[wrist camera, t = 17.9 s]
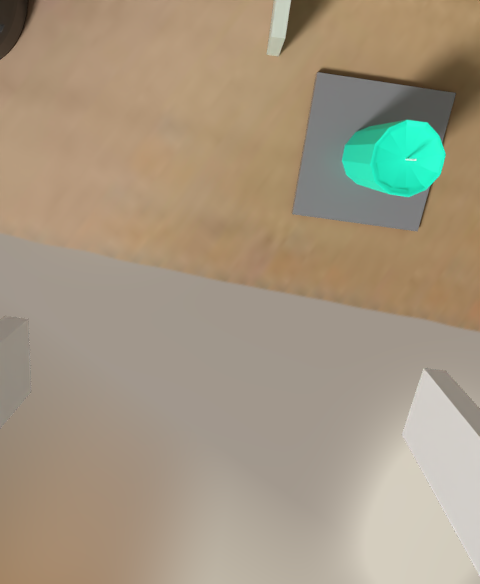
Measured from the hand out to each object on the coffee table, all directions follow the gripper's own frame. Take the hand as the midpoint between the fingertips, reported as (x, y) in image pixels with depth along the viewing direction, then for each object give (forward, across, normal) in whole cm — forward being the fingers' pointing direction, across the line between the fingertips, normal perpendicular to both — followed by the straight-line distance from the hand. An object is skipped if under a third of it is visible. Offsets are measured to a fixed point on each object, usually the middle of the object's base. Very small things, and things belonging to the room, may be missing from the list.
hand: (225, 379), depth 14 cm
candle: (+34, +13, +8) cm, 37 cm away
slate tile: (+34, +13, +8) cm, 38 cm away
